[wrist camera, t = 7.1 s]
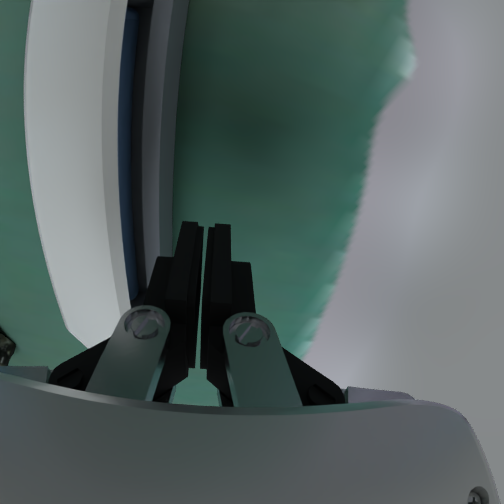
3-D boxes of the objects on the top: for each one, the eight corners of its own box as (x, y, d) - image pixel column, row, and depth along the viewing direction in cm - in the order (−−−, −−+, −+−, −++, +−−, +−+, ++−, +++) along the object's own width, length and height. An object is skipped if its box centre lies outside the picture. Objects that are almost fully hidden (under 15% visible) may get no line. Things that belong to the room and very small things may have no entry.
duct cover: (43, -2, 10) (29, -1, 10) (140, -46, 7) (120, -51, 6) (72, 320, 23) (64, 326, 22) (146, 379, 20) (137, 388, 19)
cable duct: (88, 4, 14) (53, -6, 10) (189, -4, 15) (177, -23, 11) (98, 287, 27) (81, 326, 23) (173, 295, 28) (165, 337, 24)
